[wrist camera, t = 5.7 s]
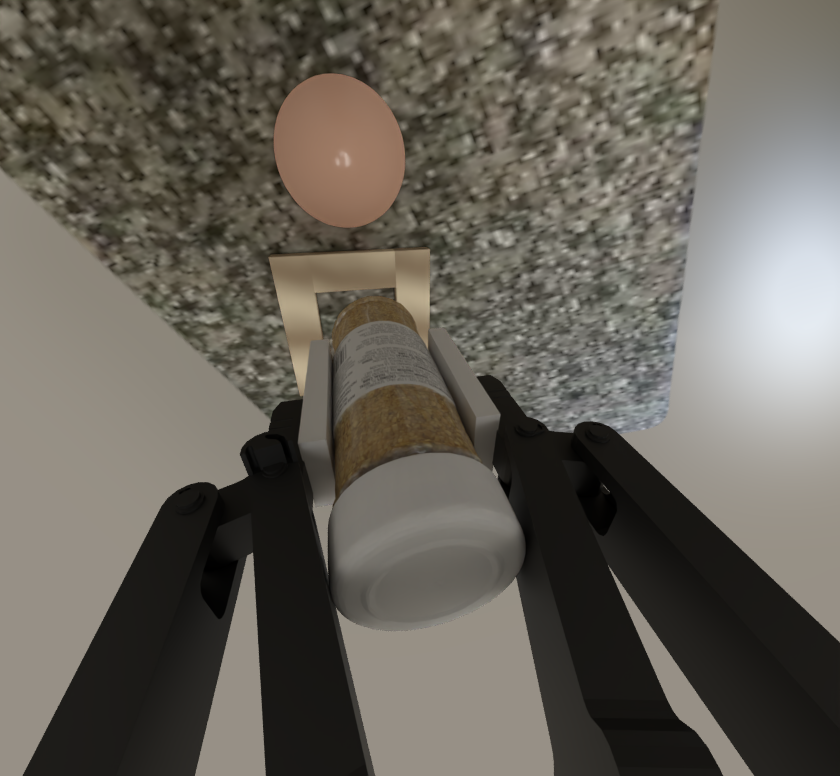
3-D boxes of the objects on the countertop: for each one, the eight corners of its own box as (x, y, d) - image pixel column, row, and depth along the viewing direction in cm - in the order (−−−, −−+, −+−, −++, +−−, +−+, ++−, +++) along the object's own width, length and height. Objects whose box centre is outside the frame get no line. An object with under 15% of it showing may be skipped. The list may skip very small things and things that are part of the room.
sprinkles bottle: (391, 382, 20) (459, 642, 9) (316, 352, 18) (292, 637, 7) (432, 316, 19) (573, 541, 8) (355, 275, 17) (396, 499, 6)
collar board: (270, 254, 30) (268, 257, 29) (426, 246, 33) (429, 249, 32) (301, 390, 38) (300, 396, 37) (426, 375, 40) (429, 380, 39)
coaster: (260, 73, 24) (258, 70, 24) (401, 78, 26) (403, 76, 26) (289, 228, 30) (288, 230, 29) (405, 224, 31) (406, 225, 31)
